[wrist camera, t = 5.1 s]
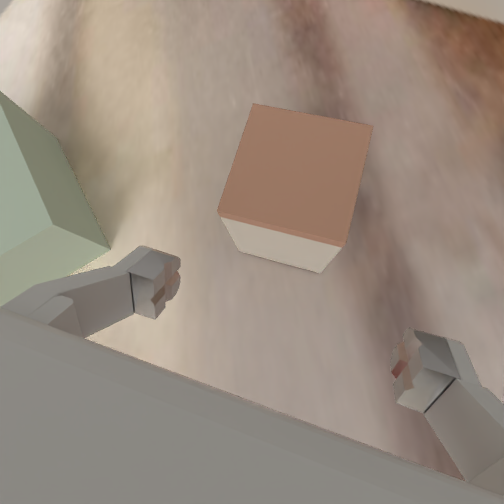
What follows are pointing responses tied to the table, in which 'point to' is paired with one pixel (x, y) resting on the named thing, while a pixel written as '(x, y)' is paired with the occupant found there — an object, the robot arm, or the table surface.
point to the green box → (39, 208)
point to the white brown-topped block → (294, 186)
